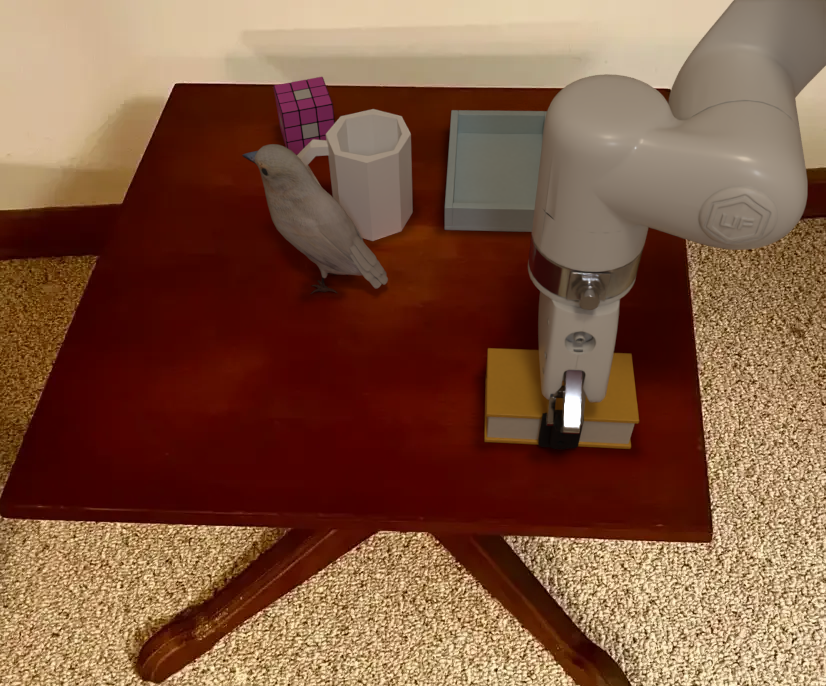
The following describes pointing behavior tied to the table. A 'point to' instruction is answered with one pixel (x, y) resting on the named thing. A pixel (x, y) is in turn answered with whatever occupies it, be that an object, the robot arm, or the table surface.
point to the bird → (313, 218)
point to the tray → (493, 170)
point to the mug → (369, 170)
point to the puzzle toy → (303, 112)
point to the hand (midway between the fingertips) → (556, 405)
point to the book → (524, 402)
